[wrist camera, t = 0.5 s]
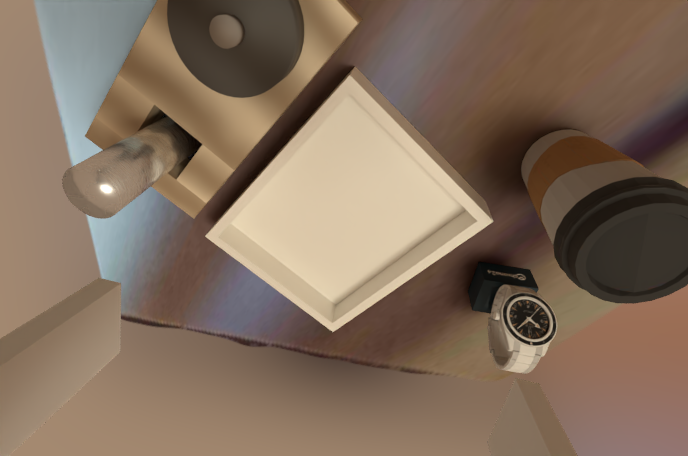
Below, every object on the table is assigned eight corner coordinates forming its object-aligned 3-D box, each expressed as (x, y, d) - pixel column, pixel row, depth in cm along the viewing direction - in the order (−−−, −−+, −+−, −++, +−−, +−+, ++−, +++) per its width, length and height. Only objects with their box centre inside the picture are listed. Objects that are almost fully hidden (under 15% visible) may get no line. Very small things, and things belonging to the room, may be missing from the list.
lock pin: (179, 101, 37) (74, 154, 25) (213, 130, 38) (129, 194, 26) (160, 130, 39) (54, 192, 27) (193, 157, 40) (106, 228, 28)
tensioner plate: (244, -110, 28) (192, -142, 21) (362, 19, 31) (351, 28, 24) (112, 123, 39) (49, 152, 32) (210, 200, 42) (173, 241, 35)
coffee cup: (508, 207, 38) (561, 314, 26) (507, 125, 34) (569, 205, 22) (602, 195, 36) (709, 304, 24) (612, 107, 32) (748, 182, 20)
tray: (355, 66, 33) (349, 74, 30) (485, 201, 38) (493, 221, 35) (220, 217, 43) (205, 236, 40) (337, 308, 48) (332, 332, 45)
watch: (536, 255, 41) (576, 333, 32) (511, 310, 45) (539, 393, 36) (483, 246, 41) (507, 322, 32) (463, 302, 45) (478, 382, 36)
